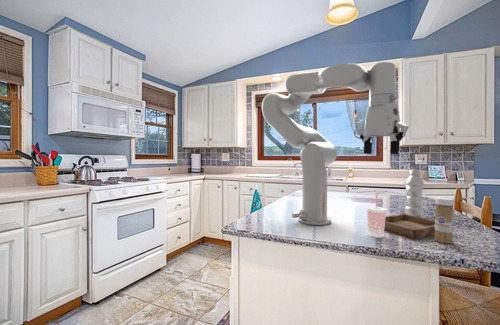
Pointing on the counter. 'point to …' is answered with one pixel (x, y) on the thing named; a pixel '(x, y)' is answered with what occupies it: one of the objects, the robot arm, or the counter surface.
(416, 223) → the walnut tray
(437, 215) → the sprinkles bottle
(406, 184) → the plastic bottle
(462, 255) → the counter surface
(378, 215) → the beverage cup
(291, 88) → the robot arm
